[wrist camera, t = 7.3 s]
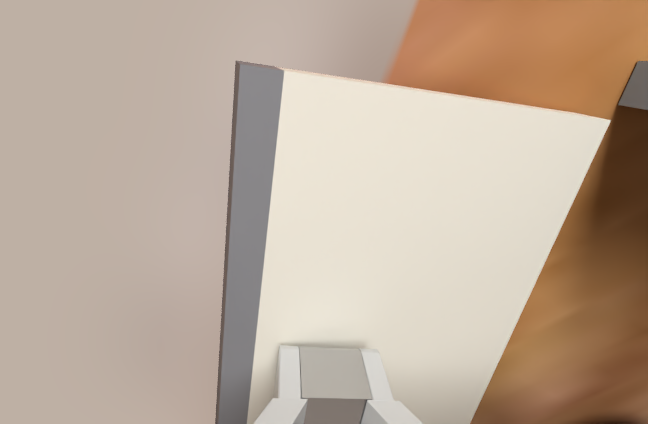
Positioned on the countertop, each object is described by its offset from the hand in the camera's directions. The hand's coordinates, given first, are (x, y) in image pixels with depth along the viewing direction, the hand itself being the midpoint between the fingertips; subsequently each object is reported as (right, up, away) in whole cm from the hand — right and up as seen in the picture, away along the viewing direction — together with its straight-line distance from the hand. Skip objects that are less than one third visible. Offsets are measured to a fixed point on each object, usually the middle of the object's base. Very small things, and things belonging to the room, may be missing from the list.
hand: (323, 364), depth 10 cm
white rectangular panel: (+6, -2, +4) cm, 8 cm away
